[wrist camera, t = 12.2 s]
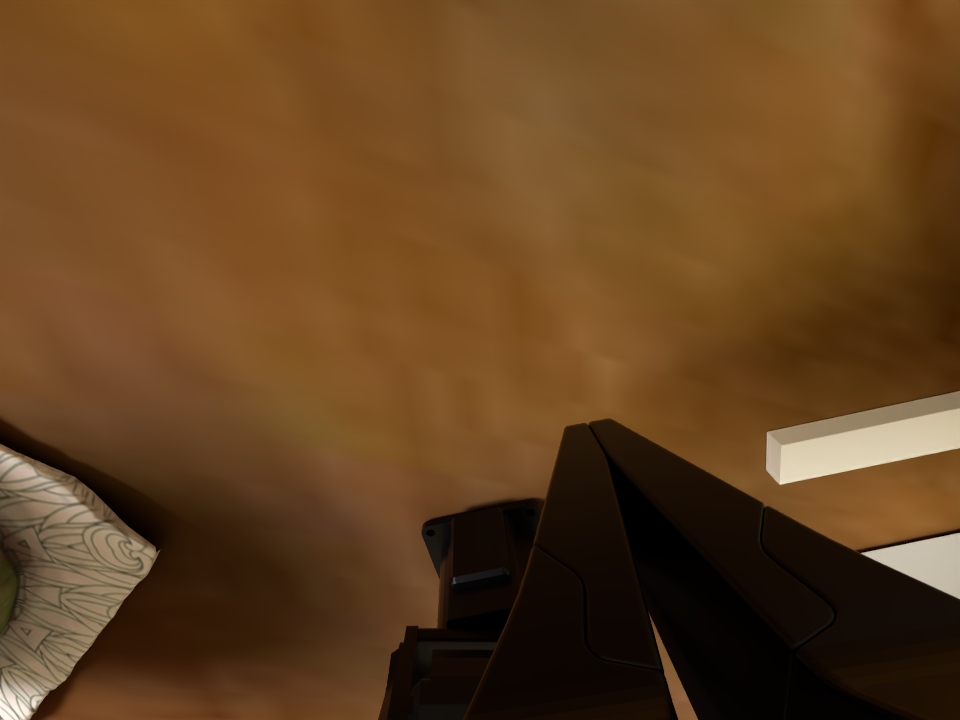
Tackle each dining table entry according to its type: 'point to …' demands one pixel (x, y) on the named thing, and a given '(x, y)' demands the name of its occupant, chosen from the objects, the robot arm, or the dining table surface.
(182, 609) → the dining table surface
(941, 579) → the paper stack
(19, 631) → the cookie jar
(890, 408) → the kettle dock outline
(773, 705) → the robot arm
